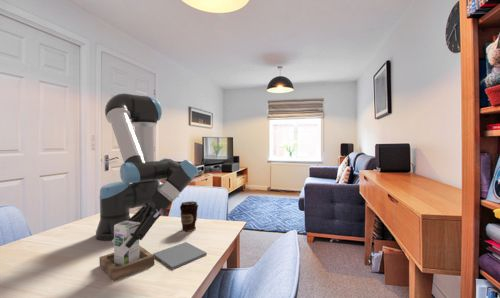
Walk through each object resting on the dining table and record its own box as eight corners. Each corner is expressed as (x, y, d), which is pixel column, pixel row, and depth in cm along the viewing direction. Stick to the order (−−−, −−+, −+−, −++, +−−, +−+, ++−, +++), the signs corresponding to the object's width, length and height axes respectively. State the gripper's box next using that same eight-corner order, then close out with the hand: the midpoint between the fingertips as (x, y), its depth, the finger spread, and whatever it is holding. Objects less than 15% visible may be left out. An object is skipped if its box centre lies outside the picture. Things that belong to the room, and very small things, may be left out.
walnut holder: (99, 265, 81) (99, 257, 80) (138, 252, 90) (138, 244, 90) (112, 280, 72) (112, 271, 72) (154, 264, 81) (154, 255, 81)
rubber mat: (152, 255, 88) (152, 253, 88) (185, 243, 98) (185, 241, 98) (172, 269, 78) (172, 267, 78) (206, 254, 88) (206, 252, 88)
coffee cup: (193, 233, 109) (193, 205, 109) (176, 232, 111) (176, 204, 110) (200, 226, 118) (200, 200, 117) (185, 225, 119) (185, 200, 119)
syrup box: (113, 267, 79) (112, 225, 79) (128, 259, 85) (127, 219, 84) (126, 271, 77) (125, 227, 77) (140, 262, 83) (139, 221, 82)
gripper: (181, 208, 80) (131, 268, 72) (163, 196, 98) (121, 243, 90) (165, 195, 77) (110, 256, 68) (149, 185, 95) (104, 232, 86)
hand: (116, 249), depth 79 cm, fingers open, 9 cm apart
